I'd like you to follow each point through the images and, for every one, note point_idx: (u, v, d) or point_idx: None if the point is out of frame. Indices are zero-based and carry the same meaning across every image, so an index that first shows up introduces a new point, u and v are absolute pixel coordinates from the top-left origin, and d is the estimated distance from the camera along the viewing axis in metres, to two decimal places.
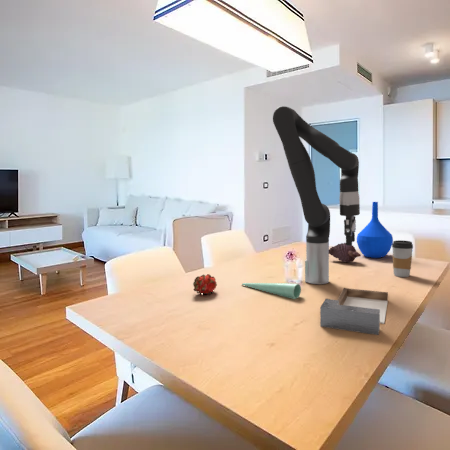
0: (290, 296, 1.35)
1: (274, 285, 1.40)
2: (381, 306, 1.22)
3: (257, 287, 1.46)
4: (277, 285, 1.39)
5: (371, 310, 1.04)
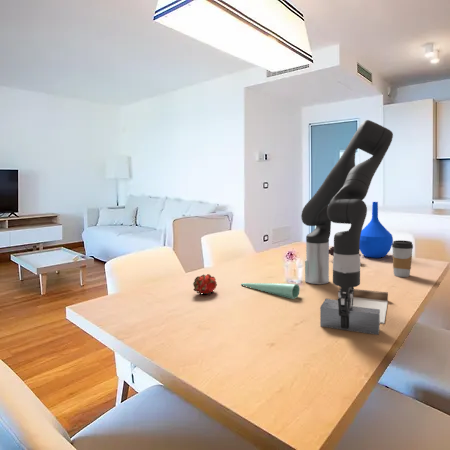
0: (289, 296, 1.35)
1: (273, 285, 1.40)
2: (381, 306, 1.22)
3: (256, 287, 1.46)
4: (276, 285, 1.39)
5: (371, 310, 1.04)
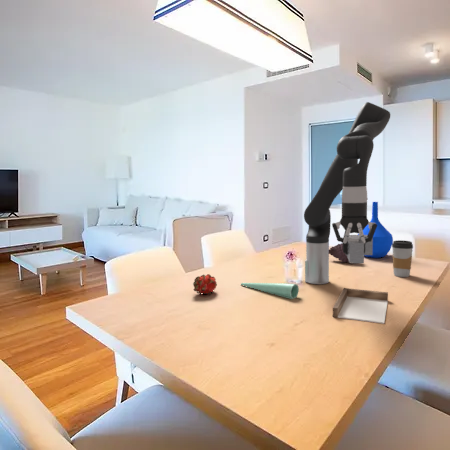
0: (288, 296, 1.35)
1: (272, 285, 1.40)
2: (381, 306, 1.22)
3: (255, 287, 1.46)
4: (275, 285, 1.39)
5: (357, 242, 1.09)
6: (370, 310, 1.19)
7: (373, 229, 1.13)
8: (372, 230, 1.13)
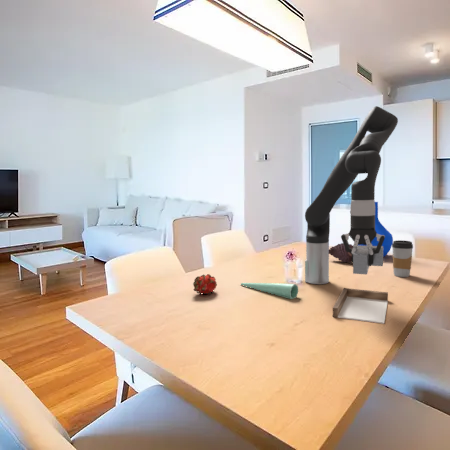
0: (287, 296, 1.35)
1: (271, 285, 1.40)
2: (381, 306, 1.22)
3: (255, 287, 1.46)
4: (274, 285, 1.39)
5: (361, 253, 1.14)
6: (370, 310, 1.19)
7: (381, 241, 1.16)
8: (380, 242, 1.16)
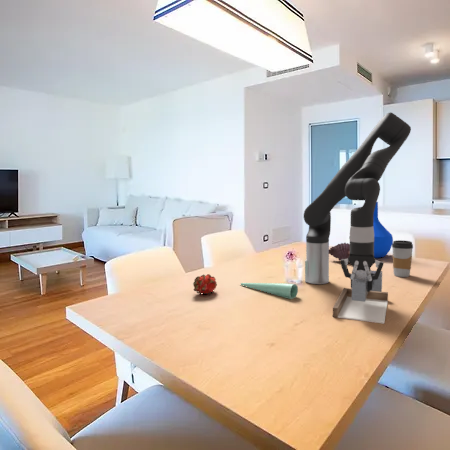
0: (287, 296, 1.35)
1: (271, 285, 1.40)
2: (381, 306, 1.22)
3: (255, 287, 1.46)
4: (274, 285, 1.39)
5: (360, 280, 1.15)
6: (370, 310, 1.19)
7: (379, 268, 1.17)
8: (378, 269, 1.17)
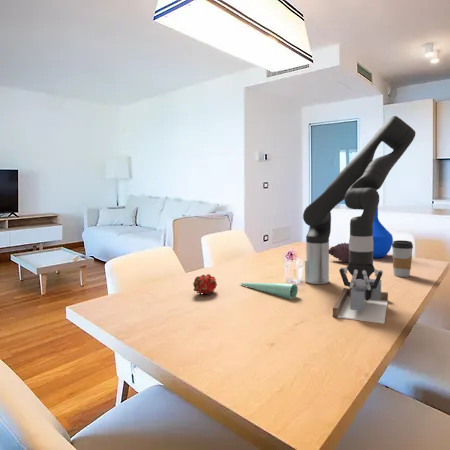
0: (287, 296, 1.35)
1: (271, 285, 1.40)
2: (381, 306, 1.22)
3: (255, 287, 1.46)
4: (274, 285, 1.39)
5: (359, 289, 1.15)
6: (370, 310, 1.19)
7: (378, 277, 1.17)
8: (377, 278, 1.17)
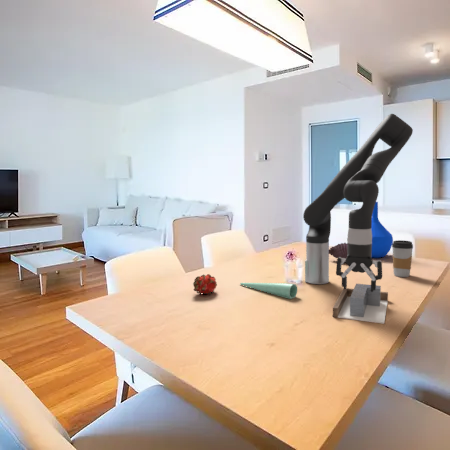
0: (286, 296, 1.35)
1: (271, 285, 1.40)
2: (381, 306, 1.22)
3: (254, 287, 1.46)
4: (274, 285, 1.39)
5: (358, 296, 1.15)
6: (370, 310, 1.19)
7: (379, 267, 1.16)
8: (378, 268, 1.17)
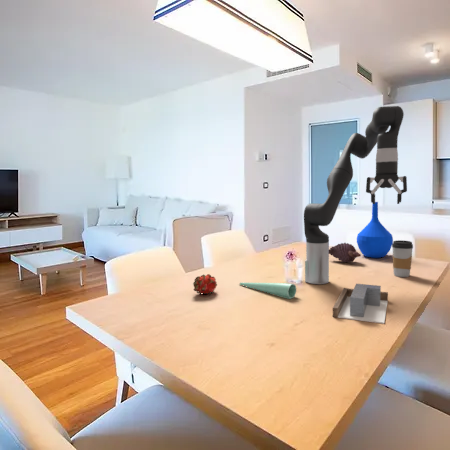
0: (285, 296, 1.35)
1: (270, 285, 1.40)
2: (381, 306, 1.22)
3: (254, 287, 1.47)
4: (273, 285, 1.39)
5: (358, 296, 1.15)
6: (370, 310, 1.19)
7: (404, 181, 1.35)
8: (404, 182, 1.35)
